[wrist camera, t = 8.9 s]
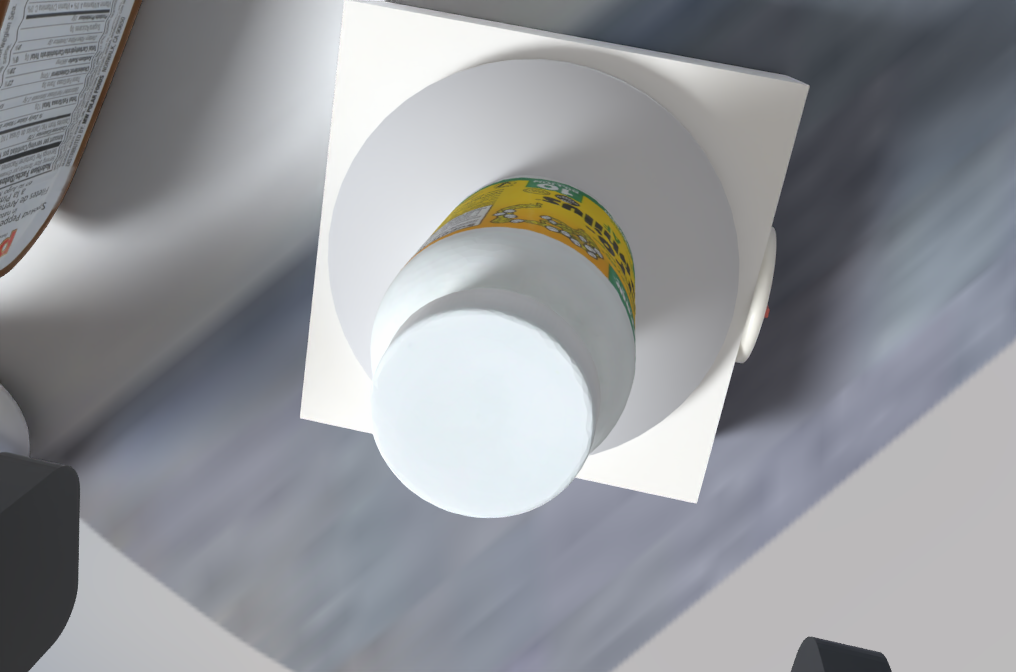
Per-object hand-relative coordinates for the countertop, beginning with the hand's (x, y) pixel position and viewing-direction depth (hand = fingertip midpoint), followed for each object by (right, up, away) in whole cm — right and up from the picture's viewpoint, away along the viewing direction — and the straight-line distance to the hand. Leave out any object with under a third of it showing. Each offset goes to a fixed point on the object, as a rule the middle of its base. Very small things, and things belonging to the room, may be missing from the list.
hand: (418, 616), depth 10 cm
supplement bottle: (+2, +5, +15) cm, 16 cm away
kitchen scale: (+2, +6, +20) cm, 21 cm away
